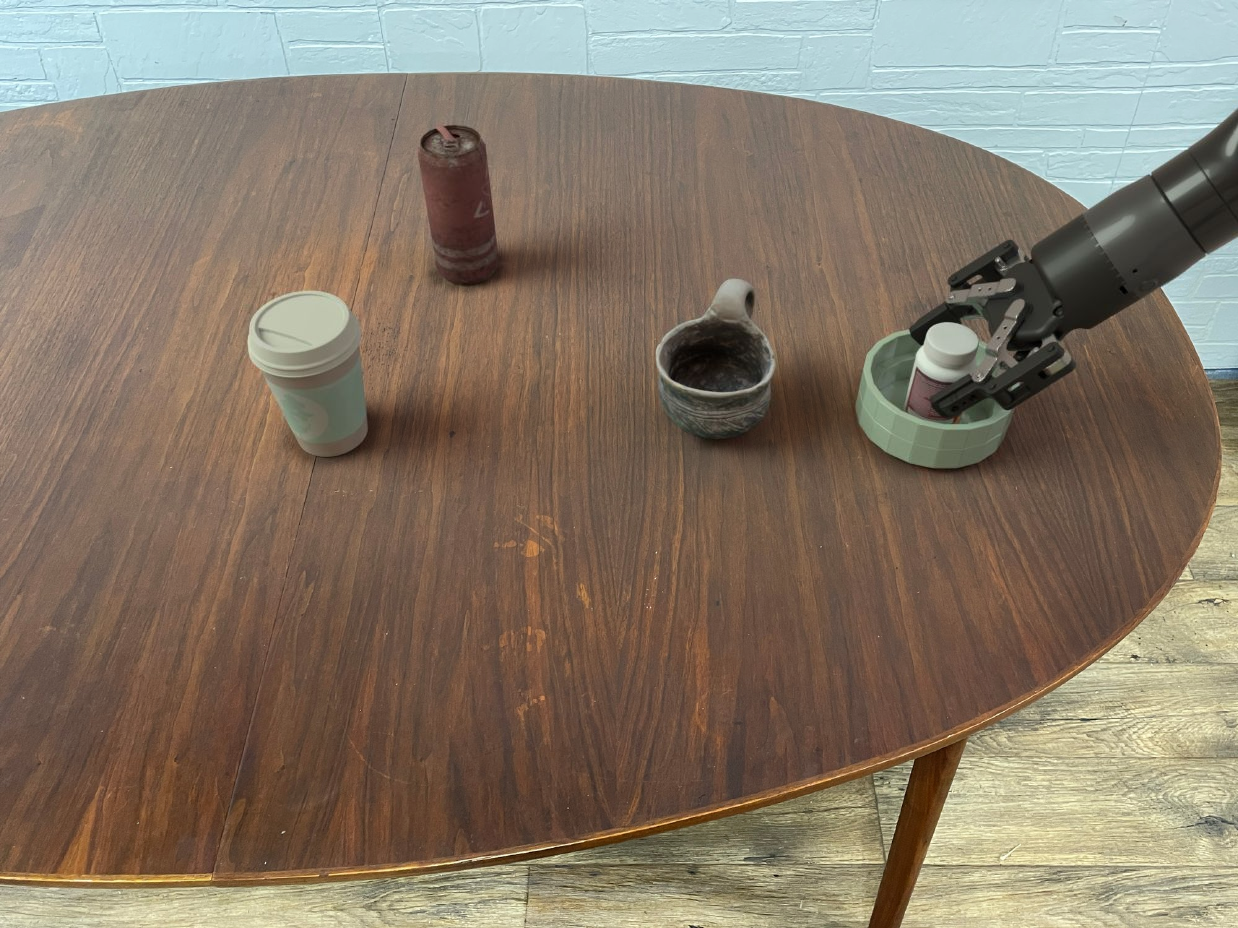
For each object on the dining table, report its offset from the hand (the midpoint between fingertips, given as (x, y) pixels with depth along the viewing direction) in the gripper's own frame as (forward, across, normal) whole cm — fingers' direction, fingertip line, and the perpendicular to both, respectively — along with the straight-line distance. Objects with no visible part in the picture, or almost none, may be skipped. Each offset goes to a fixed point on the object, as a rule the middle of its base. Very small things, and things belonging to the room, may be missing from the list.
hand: (925, 372), depth 84 cm
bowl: (+3, 0, +5) cm, 5 cm away
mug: (+16, -2, -8) cm, 18 cm away
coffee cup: (+38, +1, -30) cm, 49 cm away
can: (+32, -22, -24) cm, 46 cm away
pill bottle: (+2, 0, +4) cm, 5 cm away
